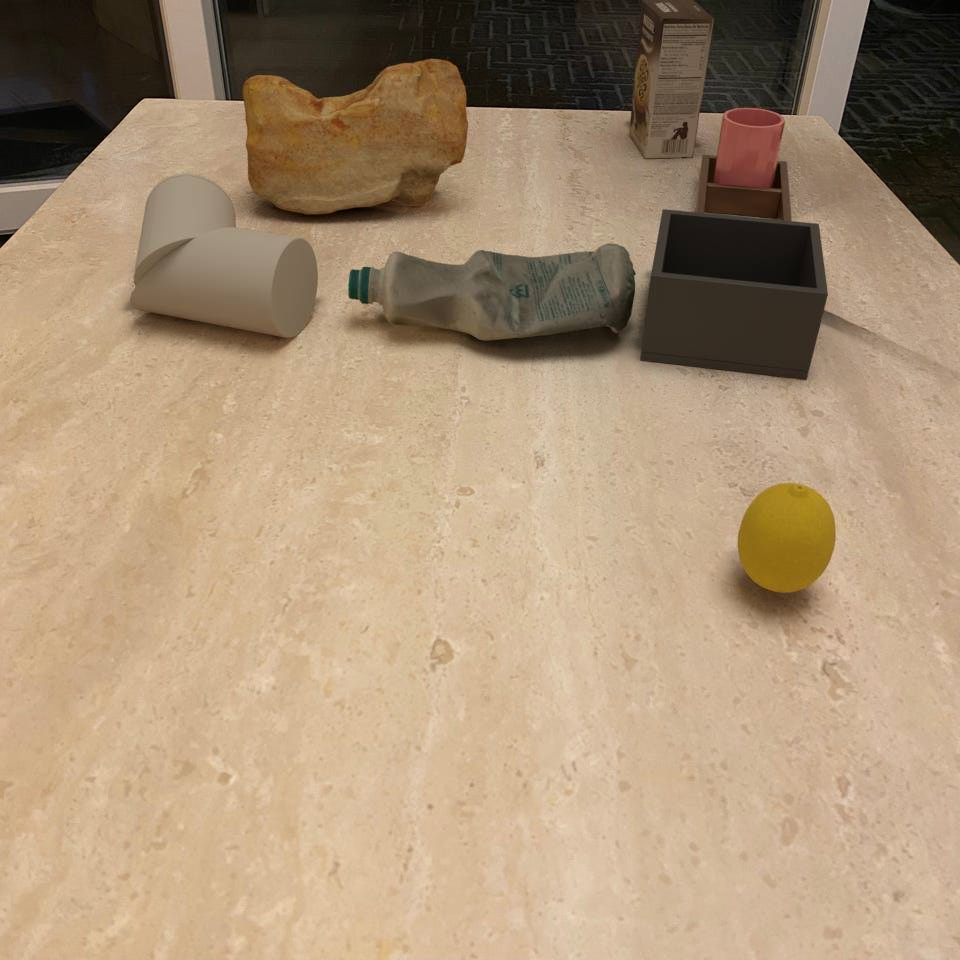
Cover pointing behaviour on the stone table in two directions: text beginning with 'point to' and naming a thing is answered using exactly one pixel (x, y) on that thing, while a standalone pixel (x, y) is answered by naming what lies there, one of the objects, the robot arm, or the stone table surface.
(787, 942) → the stone table surface
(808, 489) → the lemon
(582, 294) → the detergent
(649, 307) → the dark gray open box
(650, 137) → the coffee box
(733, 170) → the pink cup
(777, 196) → the brown compartment tray
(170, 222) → the l-shaped cylinder
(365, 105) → the tan saddle-shaped rock
